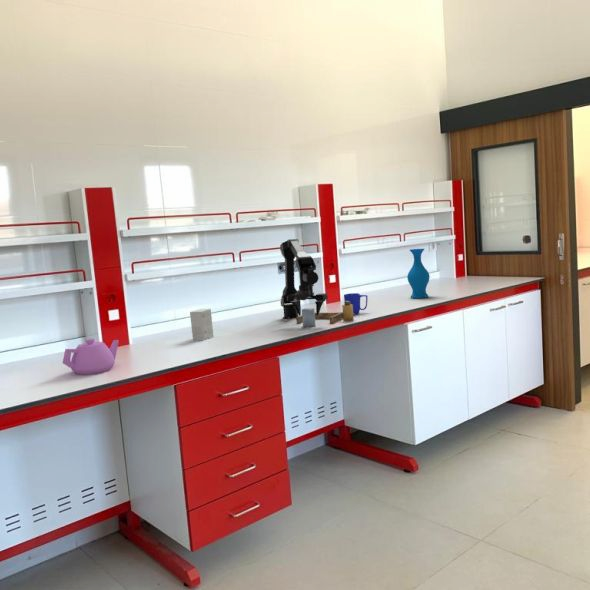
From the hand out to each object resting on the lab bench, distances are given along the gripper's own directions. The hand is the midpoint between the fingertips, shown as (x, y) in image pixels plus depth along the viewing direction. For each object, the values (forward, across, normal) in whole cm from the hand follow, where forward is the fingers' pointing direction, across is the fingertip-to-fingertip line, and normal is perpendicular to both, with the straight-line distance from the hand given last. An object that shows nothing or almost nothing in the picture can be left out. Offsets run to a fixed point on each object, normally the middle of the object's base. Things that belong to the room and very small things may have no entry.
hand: (308, 315), depth 287 cm
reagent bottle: (+5, +14, +15) cm, 21 cm away
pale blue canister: (+5, 0, +1) cm, 5 cm away
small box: (+5, -39, -31) cm, 50 cm away
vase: (+5, +30, +89) cm, 94 cm away
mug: (+5, +11, +35) cm, 37 cm away
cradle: (+5, 0, +12) cm, 13 cm away
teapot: (+5, -48, -90) cm, 102 cm away
